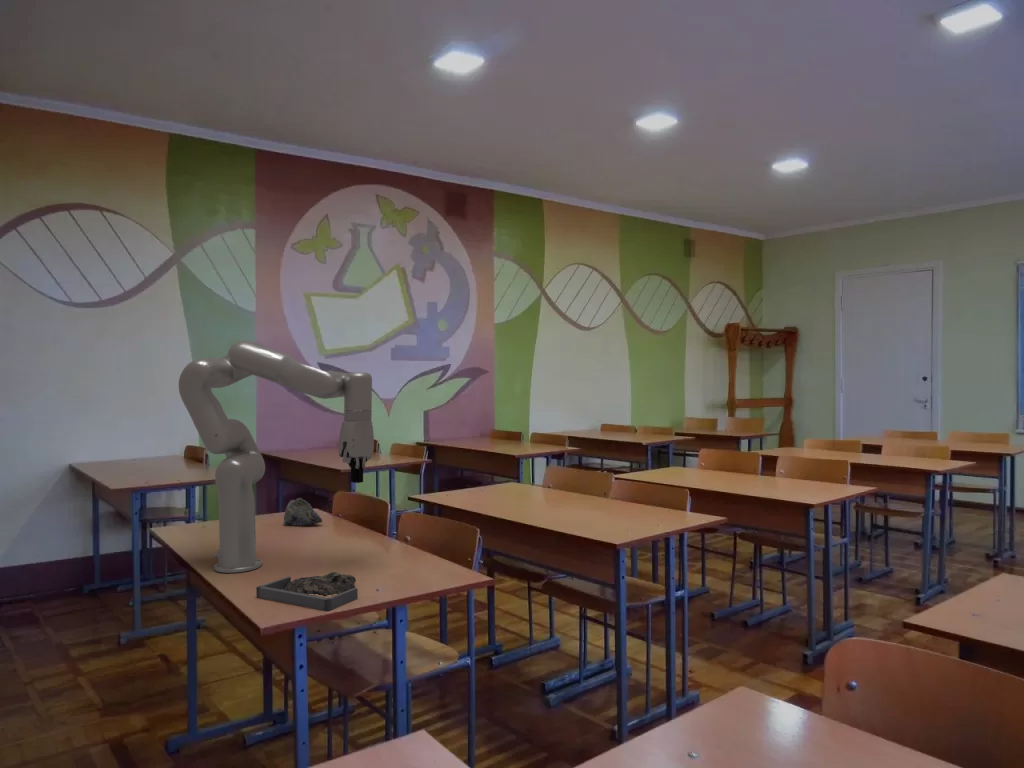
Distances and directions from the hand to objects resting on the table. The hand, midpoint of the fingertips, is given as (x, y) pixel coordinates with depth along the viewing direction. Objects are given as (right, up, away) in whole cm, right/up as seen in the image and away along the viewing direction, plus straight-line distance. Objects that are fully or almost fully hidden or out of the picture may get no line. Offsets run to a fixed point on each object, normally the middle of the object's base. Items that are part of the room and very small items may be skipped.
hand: (356, 482), depth 203 cm
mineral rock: (-32, -24, +57) cm, 70 cm away
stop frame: (-6, -24, -27) cm, 37 cm away
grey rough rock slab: (-4, -25, -20) cm, 32 cm away
